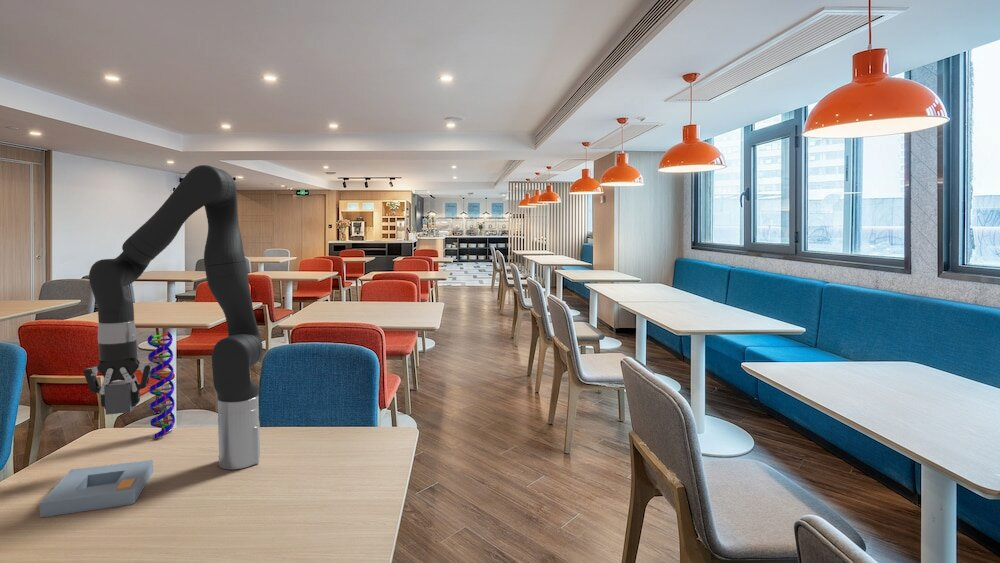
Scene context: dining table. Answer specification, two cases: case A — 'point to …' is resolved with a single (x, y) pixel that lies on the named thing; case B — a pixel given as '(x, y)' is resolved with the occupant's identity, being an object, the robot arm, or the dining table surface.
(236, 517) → the dining table surface
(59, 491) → the socket plate
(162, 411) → the dna model
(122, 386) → the plug
